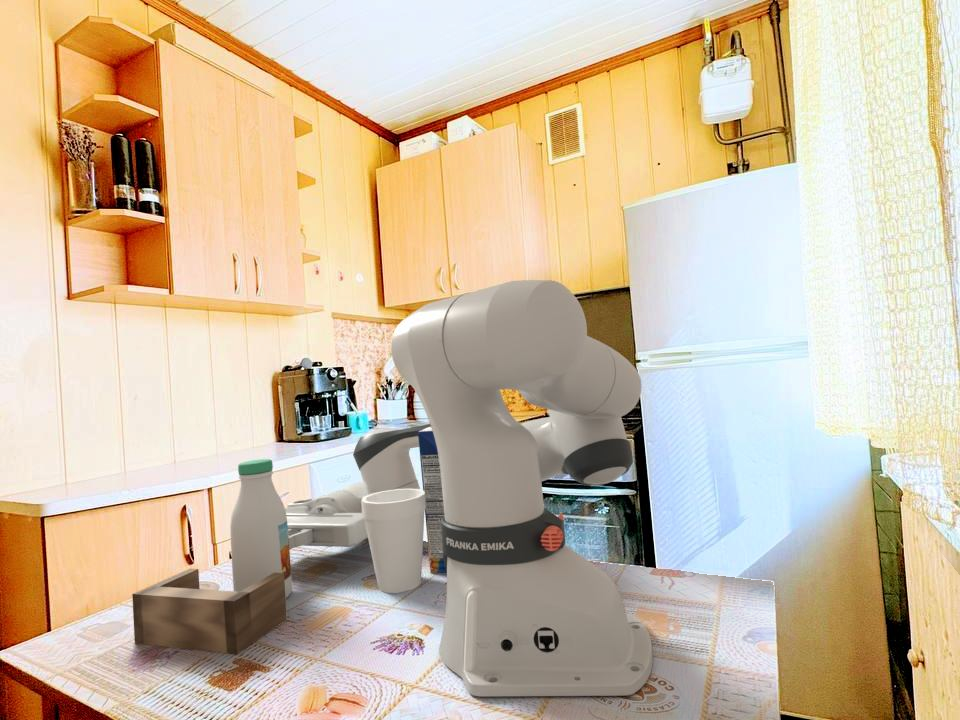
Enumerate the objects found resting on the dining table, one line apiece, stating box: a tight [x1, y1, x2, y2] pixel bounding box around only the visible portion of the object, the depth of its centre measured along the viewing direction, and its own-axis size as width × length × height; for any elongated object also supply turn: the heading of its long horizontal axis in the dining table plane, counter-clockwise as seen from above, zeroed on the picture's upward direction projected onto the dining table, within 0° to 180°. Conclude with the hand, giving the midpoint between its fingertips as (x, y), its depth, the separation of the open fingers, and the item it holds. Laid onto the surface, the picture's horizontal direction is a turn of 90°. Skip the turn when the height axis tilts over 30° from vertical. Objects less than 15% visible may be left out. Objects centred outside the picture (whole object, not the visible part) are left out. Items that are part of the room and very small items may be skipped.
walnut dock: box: [131, 568, 288, 655], centre depth 64 cm, size 16×8×6 cm, turn 72°
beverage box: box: [418, 426, 447, 574], centre depth 82 cm, size 7×11×22 cm, turn 166°
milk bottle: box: [230, 458, 293, 599], centre depth 73 cm, size 8×8×20 cm
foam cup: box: [361, 488, 426, 594], centre depth 74 cm, size 10×9×13 cm
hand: (278, 544), depth 77 cm, fingers closed, pressing on milk bottle
